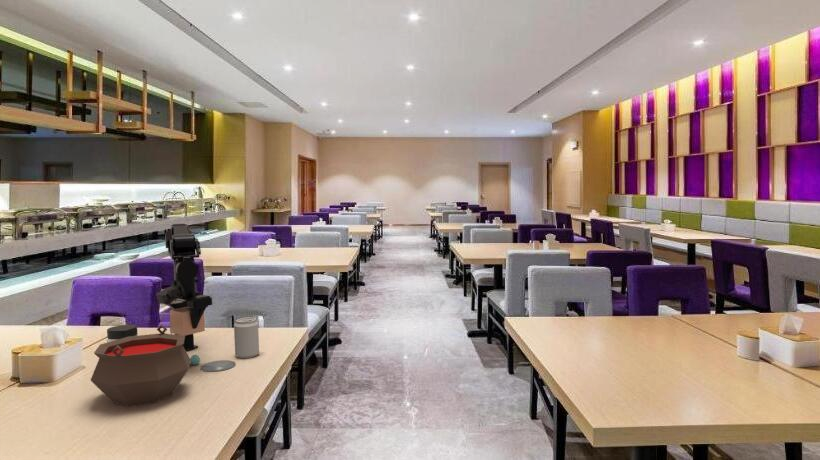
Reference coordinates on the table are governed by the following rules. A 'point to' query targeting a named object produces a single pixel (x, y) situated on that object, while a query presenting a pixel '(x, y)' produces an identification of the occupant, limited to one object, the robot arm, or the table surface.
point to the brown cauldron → (141, 367)
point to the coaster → (217, 366)
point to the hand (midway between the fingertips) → (187, 326)
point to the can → (246, 337)
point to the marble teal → (194, 359)
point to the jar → (121, 332)
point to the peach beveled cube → (184, 322)
